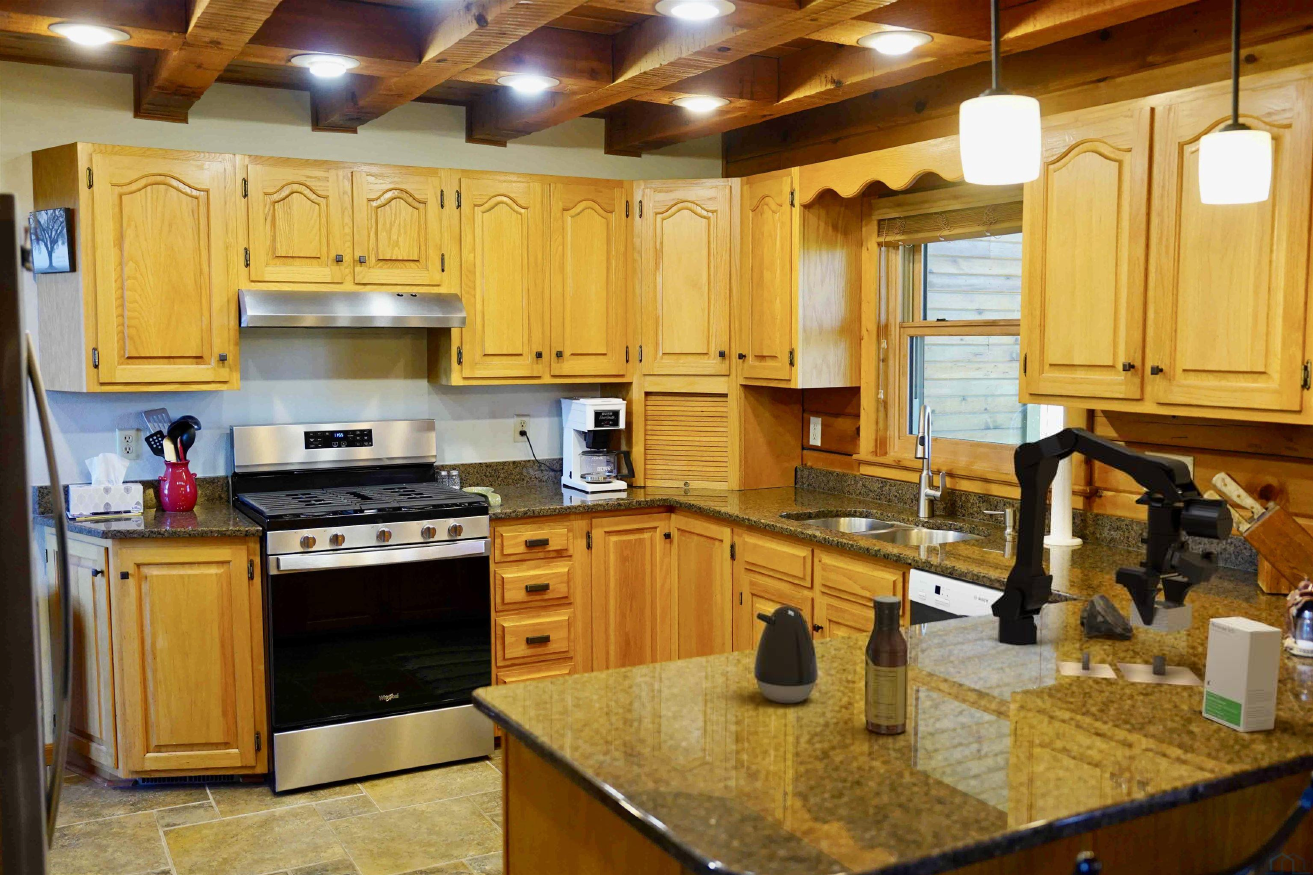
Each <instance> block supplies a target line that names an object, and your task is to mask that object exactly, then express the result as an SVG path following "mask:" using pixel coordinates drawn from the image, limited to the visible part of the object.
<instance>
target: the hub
mask: <svg viewBox="0 0 1313 875" xmlns="http://www.w3.org/2000/svg"><path fill="white" fill-rule="evenodd" d="M1166 661H1167V657H1166V656H1163V655H1158V654H1157V655H1153V657H1152V664H1140V663H1139V664H1138V663H1123V662H1116V663H1115V664H1116V666H1117V667H1118V668H1119V670H1120V672H1121V673H1122V674H1123V675H1124V677H1125V678H1126V680H1127V681H1128V682H1130V683H1131V682H1133V683H1147V684H1148V683H1149V684H1164V685H1178V686H1180V685H1181V686H1193V687H1194V686H1196V687H1205V683H1203V682H1202V681H1201V680H1200V679H1199V678H1198V677H1197V675H1196V674H1195V673H1193V672H1192V670H1191V669H1190V668H1189V667H1187V666H1174V665H1171V666H1169V665H1166V664H1167V662H1166Z"/></svg>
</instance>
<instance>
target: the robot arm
mask: <svg viewBox="0 0 1313 875" xmlns="http://www.w3.org/2000/svg"><path fill="white" fill-rule="evenodd" d="M1074 453H1078V454H1080V455H1082V456H1085V457H1086V458H1087V457H1088V458H1089V459H1092V460H1095V461H1097V462H1099V463H1101V464H1104V465H1106V466H1108V467H1110V468H1113V469H1115V470H1118V471H1120V472H1122V473H1125V474H1126V475H1128V476H1129V477H1130V478H1131V479H1132V480H1134V482H1135V483H1136V484H1138V485H1139V486H1141V487H1142V488H1144V489H1146V490H1147V491H1144V493H1143V494H1142V495H1141V496H1140V497H1138V498H1137V499H1135V501H1134V502H1135V504H1136V505H1141V506H1147V509H1146V510H1147V514H1146V533H1145V534H1146V535H1145V536H1142V537H1140V544H1142V545H1145V551H1144V552H1145V554H1144V555H1145V558H1144V560H1140V561H1139V566H1135V565H1130V566H1129V565H1128V566H1122V567H1119V568H1118V569H1117V570H1116V571H1115V574H1114V576H1115V577H1114V583H1115V584H1117V585H1122V586H1123V587H1122V588H1125V589H1126V590H1127V592H1128V594H1129V595H1130V598H1131V599H1132V601H1134V603H1135V606H1136V608H1137V610H1138V612H1139V614H1140V617H1141V619H1142V621H1143V623H1144V625H1147V626H1150V625H1151V622H1152V618H1153V611H1154V604H1155V598H1157V596H1158V595H1159V594H1160V593H1161V592H1162V591H1163V595H1164V596H1163V597H1164V599H1165V600H1169V601H1174V602H1179V603H1184V602H1185V600H1186V598H1187V596H1188V593H1189V591H1190V590H1192V589H1193V588H1195V587H1196V586H1198V585H1201V583H1204V582H1206V583H1209V582H1210V581H1211V579H1212V576H1213V574H1214V573H1218V572H1220V571H1219V570H1220V569H1219V555H1218V553H1217V552H1214V551H1213V550H1205V551H1204V552H1202V553H1200V552H1194V551H1192V550H1190V542H1189V540H1188V539H1183V536H1184V532H1185V533H1186V535H1187V536H1189V537H1192V538H1199V539H1206V540H1214V541H1216V540H1217V541H1220V542H1221V541H1222V542H1225V541H1227V540H1228V539H1229V538H1230V536H1231V534H1232V531H1233V528H1234V518H1233V516H1232V511H1231V509H1230V508H1229V507H1228V504H1229V503H1228V502H1229V501H1228V499H1227V498H1226V499H1225V498H1205V496H1204V495H1203V494H1202V491H1200V488H1198V486H1197V484H1196V483H1195V481H1194V480H1193V478H1192V474H1191V470H1190V468H1189V465H1188V464H1187V463H1186V462H1184V461H1182V460H1181V459H1178V458H1172V457H1168V456H1163V455H1162V456H1161V455H1155V454H1148V453H1143V452H1139V451H1138V450H1135V449H1132V448H1130V447H1128V446H1125V445H1123V444H1120V443H1118V442H1116V441H1113V440H1110V439H1108V438H1106V437H1103V436H1100V435H1099V434H1095V433H1093V432H1091V431H1088V430H1087V429H1085V428H1084V427H1081V426H1078V427H1077V426H1075V427H1073V426H1072V427H1066V428H1063V429H1062V430H1060V431H1059V432H1057V433H1054V434H1052V435H1051V434H1050V435H1049V436H1047V437H1043V438H1041V439H1039V440H1036V441H1028V442H1027V441H1026V442H1023V443H1020V445H1018V447H1016V448H1015V450H1014V453H1013V466H1014V467H1013V468H1014V475H1015V477H1016V480H1017V482H1018V485H1019V487H1020V496H1019V510H1018V524H1017V535H1016V536H1017V538H1016V539H1017V540H1016V550H1015V561H1014V563H1013V566H1012V568H1011V570H1010V572H1009V573H1008V575H1007V577H1006V581H1005V586H1004V589H1003V594H1002V595H1001V596H999V598H998V599H996V600H995V601H994V602H993V603H992V604H991V605H990V608H991V612H992V616H993V617H995V618H998V622H997V623H998V624H997V625H998V628H997V630H998V632H997V640H998V643H999V644H1005V645H1010V646H1011V645H1012V646H1030V645H1031V646H1034V645H1035V646H1036V645H1037V644H1038V643H1037V642H1038V641H1037V640H1038V626H1037V624H1036V622H1035V617H1034V616H1039V615H1040V614H1041V611H1042V609H1043V607H1044V606H1045V605H1047V603H1048V602H1049V599H1050V597H1051V596H1053V591H1052V585H1053V580H1054V575H1053V574H1049V573H1048V574H1047V572H1046V571H1045V568H1044V566H1043V559H1044V558H1043V557H1044V547H1045V546H1044V545H1045V532H1046V520H1047V518H1046V517H1047V505H1048V492H1049V489H1050V488H1051V485H1052V484H1053V482H1054V480H1055V478H1056V477H1057V474H1058V470H1059V466H1060V462H1061V461H1063V460H1065V459H1068V458H1069V457H1071V456H1073V454H1074ZM1160 583H1161V586H1162V587H1158V586H1159V585H1160Z"/></svg>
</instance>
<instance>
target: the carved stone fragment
mask: <svg viewBox="0 0 1313 875" xmlns="http://www.w3.org/2000/svg"><path fill="white" fill-rule="evenodd" d="M1079 626H1081V627H1082V628H1083V636H1084V638H1086V637H1087V638H1091V637H1094V636H1097V635H1098V636H1104V635H1106V634H1111V635H1115V636H1116V637H1118V638H1119V639H1121V640H1128V639H1131V638H1132V636H1133V635H1134V629H1133V625H1130V619H1129V618H1128V617H1126V616H1125V615H1124V614H1122V613H1121V612H1120V610H1119V609H1118V607H1117V606H1116V605H1115V604H1114V602H1112V601H1111V600H1110V598H1109V597H1108V596H1107V595H1105V594H1103V593H1099V594H1094V595H1093V596H1092V597H1091V599H1090V600H1089V602H1087V604H1086V606H1085V607H1084V609H1083V610H1081V613H1080V614H1079Z"/></svg>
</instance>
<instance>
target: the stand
mask: <svg viewBox="0 0 1313 875" xmlns="http://www.w3.org/2000/svg"><path fill="white" fill-rule="evenodd" d="M1090 659H1091V653H1088V652H1083V653H1082V658H1081V660H1082V661H1081V662H1071V661H1069V662H1068V661H1058V660H1057V661H1054V662H1055V664H1056V666H1057V668H1058V670H1059V672H1060V673H1061V675H1062V676H1072V677H1074V676H1075V677H1089V678H1090V677H1091V678H1104V679H1105V678H1107V679H1118V676H1117V675H1116V673H1115V672H1114V671H1113V669H1112V668H1111V666H1110V665H1109V664H1105V663H1104V664H1103V663H1090Z"/></svg>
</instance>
